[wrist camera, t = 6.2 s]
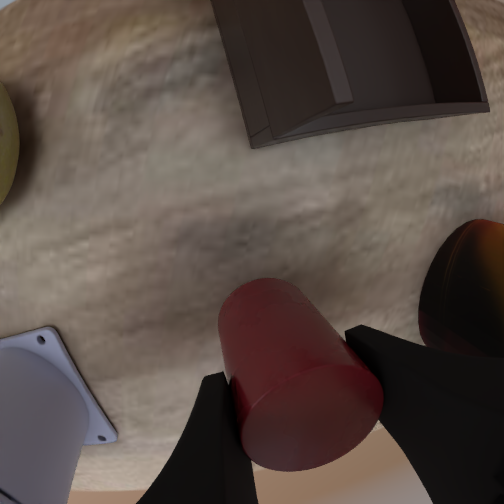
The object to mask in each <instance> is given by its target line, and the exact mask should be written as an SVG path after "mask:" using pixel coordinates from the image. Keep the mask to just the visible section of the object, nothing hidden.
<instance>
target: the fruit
mask: <svg viewBox="0 0 504 504" xmlns="http://www.w3.org/2000/svg"><path fill="white" fill-rule="evenodd" d="M19 144H20V140H19V130H18V123H17V118H16V114H15V110H14V107H13V105H12V102H11V99H10V97H9V95H8V93H7V91H6V89H5V87H4V85H3V84H2V82H1V81H0V204H1V203H2V202H3V200H4V199H5V197H6V196H7V194H8V192H9V190H10V188H11V186H12V183H13V180H14V176H15V172H16V168H17V162H18V156H19Z"/></svg>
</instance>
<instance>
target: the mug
mask: <svg viewBox="0 0 504 504" xmlns="http://www.w3.org/2000/svg"><path fill="white" fill-rule="evenodd" d="M419 328H420V334H421V336H422V339H423V341H424V343H425V344H426V346H427V347H430V348H434V349H438V350H442V351H446V352H451V353H457V354H463V355H469V356H478V357H492V358H504V224H500V223H496V222H492V221H488V220H484V219H475V220H472V221H469V222H466V223H465V224H463V225H462V226H460V227H459V228H457V229H456V230H455V231H454V232H453V233H452V234H451V235H450V236H449V237H448V238H447V240H446V241H445V242H444V244H443V245H442V247H441V248H440V249H439V251H438V253H437V255H436V256H435V258H434V260H433V262H432V264H431V266H430V269H429V271H428V273H427V276H426V278H425V282H424V285H423V289H422V292H421V297H420V304H419Z"/></svg>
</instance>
